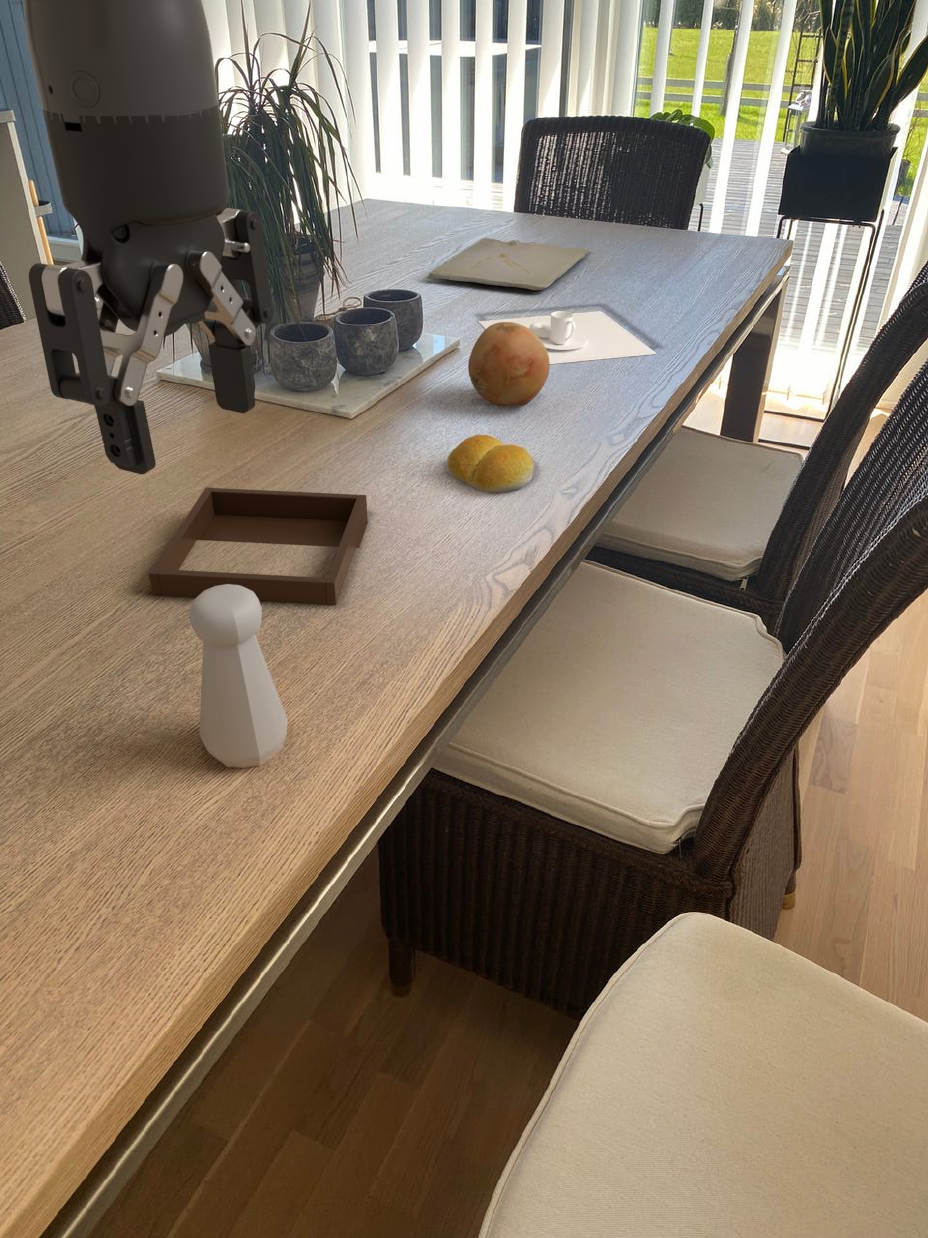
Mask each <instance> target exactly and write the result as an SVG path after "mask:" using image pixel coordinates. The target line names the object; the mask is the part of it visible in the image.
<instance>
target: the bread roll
mask: <svg viewBox="0 0 928 1238" xmlns="http://www.w3.org/2000/svg"><path fill="white" fill-rule="evenodd" d="M447 467H448V472H449V473H450V475H451V476H452V477H453V478H454V480H456V481H457V482H459V483H461V484H463V485H465V486H469V487H473V488H475V489H476V490H477V491H480V492H483V493H485V494H486V493H487V494H500V493H506V492H507V493H508V492H512V491H516V490H520V489H523V488H524V487H526V486H527V485H528V484H529V483H530V482H531V480H532V478H533V472H534V469H535V464H534V459H533V458H532V455H531V454H530V452H528V451H527V449H525V448H524V447H522V446H520V445H516V444H505V443H504V442H502V441H501V440H500V439H499V438H496V437H494V436H492V435H489V434H475V435H472V436H470V437H467V438H465V439H464V440H462V441H461V442H460V443H459V444H458V445H456V447H455V448H453V449H452V450H451V452H449V454H448V456H447Z"/></svg>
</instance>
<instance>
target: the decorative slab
mask: <svg viewBox="0 0 928 1238" xmlns="http://www.w3.org/2000/svg"><path fill="white" fill-rule="evenodd" d="M588 254H589V249H587V248H581V247H579V248H578V247H567V246H565V247H563V246H558V245H553V244H546V243H540V242H533V241H532V242H531V241H530V242H529V241H528V242H521V241H520V240H517V239H513V240H512V239H511V240H509V241H503V240H499V239H495V238H489V237H483V238H482V239H481V240H480V241H478V242H476V243H474V244H473V245H471V246H470V247H467V248H466V249H464V250H463V251H462V252H459V253H458V254H457V255H455V256H453V257H451V259H449V260H448V261H446V262H443V263H442V264H440V265H438V266H437V267H435V268H434V269H433V270H431V271H430V272H429V273H428V277H429V278H430V279H443V280H450V281H458V282H469V283H477V284H482V285H483V284H484V285H490V286H499V287H500V286H501V287H508V288H509V287H510V288H520V289H528V290H531V291H542V290H545V289H547V288H548V287H550V285H553V284H554V283H555V281H556V280H558V279H559V278H561V277H562V276H563V275H564V274H566V273H567V271H568V270H570V269H571V268H573V266H574V265H575V264H577V263H578V262H579V261H580V260H581V259H584V258H585V256H586V255H588Z"/></svg>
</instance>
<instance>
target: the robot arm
mask: <svg viewBox="0 0 928 1238" xmlns="http://www.w3.org/2000/svg"><path fill="white" fill-rule="evenodd" d="M22 2H23V13H24V24H25V33H26V40H27V45H28V50H29V51H28V52H29V55H30V60H31V65H32V70H33V74H34V78H35V82H36V87H37V92H38V97H39V101H40V105H41V106H40V107H41V110H42V114H43V119H44V123H45V128H46V133H47V137H48V142H49V147H50V152H51V155H52V160H53V165H54V169H55V170H54V171H55V173H56V178H57V183H58V187H59V188H58V189H59V192H60V197H61V201H62V205H63V207H64V209H65V210H66V212H67V213H68V214H69V215H70V216H71V217H72V218H73V219H74V221H75V222H76V223H77V225H78V227H79V228H80V231H81V234H82V252H81V258H80V261H75V262H71V263H67V264H62V265H59V264H48V263H40V262H36V263H34V264H33V265H32V266H31V268H29V270H28V283H29V287H30V292H31V297H32V303H33V307H34V312H35V317H36V322H37V328H38V333H39V337H40V341H41V347H42V352H43V355H44V356H43V357H44V362H45V366H46V372H47V377H48V381H49V387H50V391H51V393H52V395H53V396H55V397H56V398H59V399H63V400H69V401H75V402H80V403H84V404H88V405H92V406H93V407H94V410H95V414H96V419H97V422H98V426H99V431H100V435H101V441H102V443H103V449H104V453H105V456H106V457H107V459H108V460H109V462H110V463H111V464H114V466H115V467H116V468H117V469H119V470H121V471H124V472H125V471H126V472H130V473H133V474H138V475H145V474H147V473H149V472H150V471H152V470H154V469H155V468H156V466H157V465H156V464H157V463H156V458H155V452H154V447H153V441H152V437H151V431H150V426H149V422H148V416H147V411H146V406H145V401H144V400H140V399H139V397H140V394H141V391H142V387H143V383H144V379H145V376H146V372H147V368H148V365H149V364H150V363H152V362H155V360H157V359H158V357H159V355H160V352H161V350H162V349H161V348H162V345H163V341H164V337H168V336H171V335H172V334H175V333H177V332H178V330H180V329H181V328H182V327H183V326H184V325H186V324H198V325H199V326H200V328H201V329H202V330H203V331H204V333H205V334H206V335H207V336H208V337H209V339H212V340H215V341H213V342H211V343H209V344H207V347H208V353H209V360H210V366H211V367H210V368H211V373H212V381H213V386H214V394H215V400H216V404H217V405H218V406H219V408H221V409H222V410H224V411H229V412H235V413H240V414H247V413H248V412H250V411H252V410H253V409H254V408H255V407H256V397H255V395H256V380H255V373H254V363H253V358H252V356H253V355H252V347H251V345H253V344H254V343H255V340H256V336H257V329H258V327H259V326H260V325H261V324H264V325H268V324H270V323H271V322H272V320H273V318H274V306H273V305H274V304H273V299H272V292H271V285H270V279H269V271H268V264H267V257H266V251H265V242H264V236H263V230H262V223H261V218H260V215H259V214H258V212H256V211H254V210H245V209H237V208H229V207H227V206H228V204H229V202H230V200H231V191H230V184H229V177H228V175H229V174H228V169H227V167H228V166H227V161H226V160H227V159H226V153H225V145H224V137H223V128H222V127H223V126H222V119H221V112H220V104H219V95H218V87H217V81H216V79H217V78H216V72H215V64H214V56H213V55H214V54H213V48H212V41H211V35H210V30H209V26H208V25H209V24H208V21H207V16H206V13H205V9H204V4H203V2H202V0H22ZM241 281H245V282H246V283H247V284H248V287H249V292H250V298H247V297H244V294H243V288H242V282H241ZM119 322H121V323H122V324H123V325H124V326H125V327H126V328H127V329H129V330H132V332H134V333H132V334H124V333H118V332H117V327H118V323H119ZM73 355H74V356H73ZM119 356H122V358H121V361H120V365H119V367H118V368H119V369H118V373H117V376H114V375H112V373H113V369H114V367H115V362H116V359H117V358H118V357H119ZM74 357H75V359H76V363H77V367H78V372H77V371H76V366H75V361H74Z"/></svg>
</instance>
